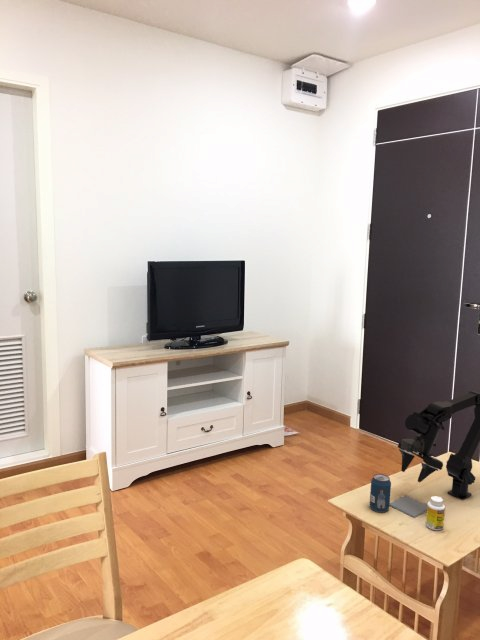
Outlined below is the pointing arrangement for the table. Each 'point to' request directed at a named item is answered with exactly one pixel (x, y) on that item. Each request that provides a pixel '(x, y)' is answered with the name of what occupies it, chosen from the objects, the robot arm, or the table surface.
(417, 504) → the coaster
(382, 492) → the soda can
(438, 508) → the supplement bottle
